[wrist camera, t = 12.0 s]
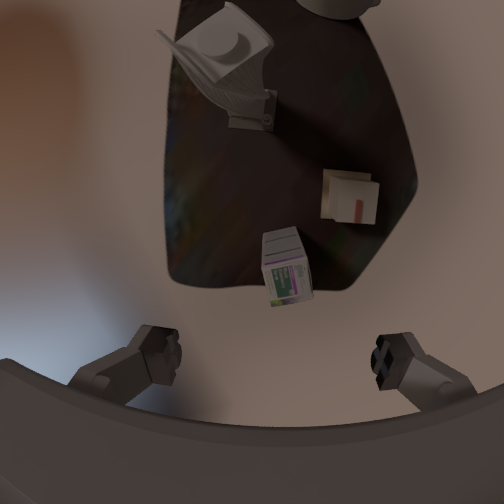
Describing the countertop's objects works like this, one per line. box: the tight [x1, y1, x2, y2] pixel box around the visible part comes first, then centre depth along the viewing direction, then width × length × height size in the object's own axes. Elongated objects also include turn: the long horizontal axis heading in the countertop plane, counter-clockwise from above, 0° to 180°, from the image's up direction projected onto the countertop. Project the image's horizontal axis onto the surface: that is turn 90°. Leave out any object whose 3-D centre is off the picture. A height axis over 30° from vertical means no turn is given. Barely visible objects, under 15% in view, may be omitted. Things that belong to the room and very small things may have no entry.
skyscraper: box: [155, 2, 278, 132], centre depth 25 cm, size 8×8×28 cm
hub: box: [321, 169, 371, 219], centre depth 40 cm, size 8×8×5 cm
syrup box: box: [262, 226, 313, 307], centre depth 39 cm, size 6×6×14 cm
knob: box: [328, 175, 379, 224], centre depth 38 cm, size 6×6×7 cm
